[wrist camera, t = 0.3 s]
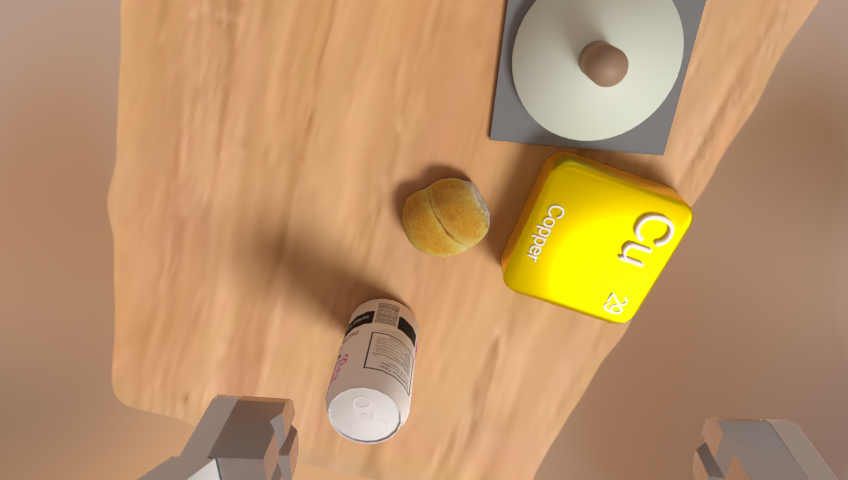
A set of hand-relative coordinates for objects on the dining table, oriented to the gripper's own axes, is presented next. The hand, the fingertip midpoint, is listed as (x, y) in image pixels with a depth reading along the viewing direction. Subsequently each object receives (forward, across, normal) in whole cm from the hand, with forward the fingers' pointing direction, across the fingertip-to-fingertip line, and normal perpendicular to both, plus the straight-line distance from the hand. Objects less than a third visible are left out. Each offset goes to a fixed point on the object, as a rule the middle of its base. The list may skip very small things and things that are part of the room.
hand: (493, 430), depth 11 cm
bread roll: (+46, +2, +15) cm, 49 cm away
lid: (+46, -11, -1) cm, 47 cm away
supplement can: (+46, +9, +30) cm, 56 cm away
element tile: (+46, -13, +17) cm, 51 cm away
